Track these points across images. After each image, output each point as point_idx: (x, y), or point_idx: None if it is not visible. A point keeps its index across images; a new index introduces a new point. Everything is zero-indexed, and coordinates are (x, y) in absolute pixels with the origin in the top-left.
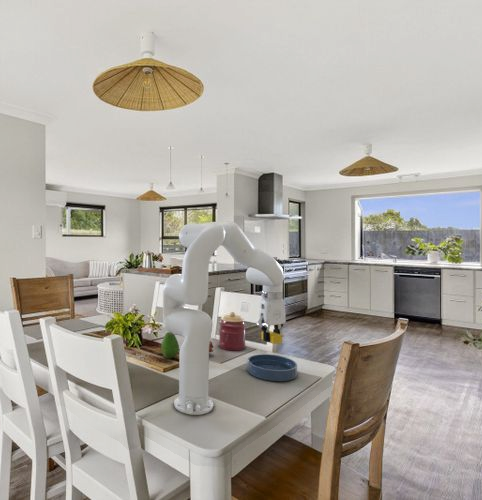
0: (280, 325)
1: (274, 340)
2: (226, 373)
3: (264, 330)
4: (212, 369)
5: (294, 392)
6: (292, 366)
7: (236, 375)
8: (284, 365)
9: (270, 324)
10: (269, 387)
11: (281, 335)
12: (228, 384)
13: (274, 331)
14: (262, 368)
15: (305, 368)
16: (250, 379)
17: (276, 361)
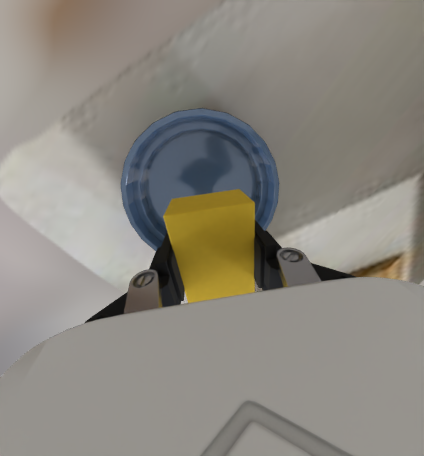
0: (129, 312)
1: (236, 194)
2: (305, 220)
3: (313, 266)
4: (315, 246)
5: (230, 16)
6: (135, 184)
7: (294, 203)
8: (149, 213)
9: (365, 282)
10: (276, 96)
11: (170, 214)
12: (353, 157)
13: (181, 286)
14: (271, 158)
15: (84, 198)
16: (282, 170)
17: (162, 234)
